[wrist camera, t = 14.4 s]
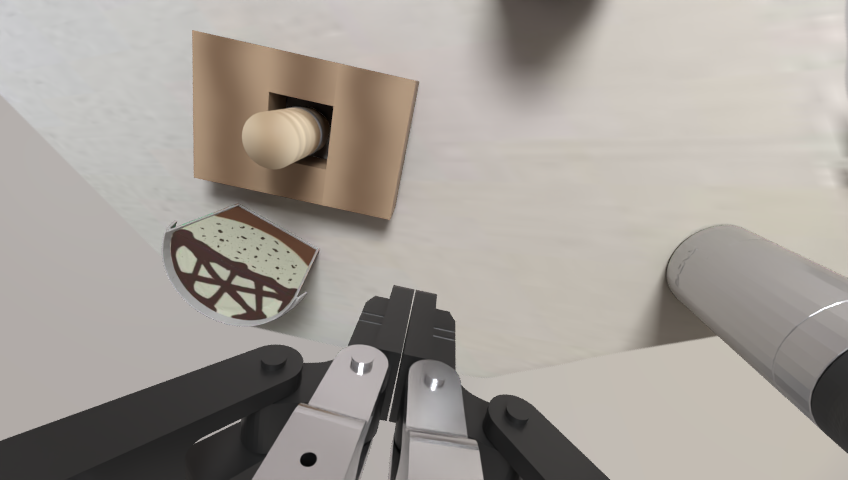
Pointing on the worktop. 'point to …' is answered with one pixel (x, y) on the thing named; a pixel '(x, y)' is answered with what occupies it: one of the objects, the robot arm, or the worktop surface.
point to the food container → (237, 266)
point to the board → (267, 90)
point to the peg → (284, 135)
